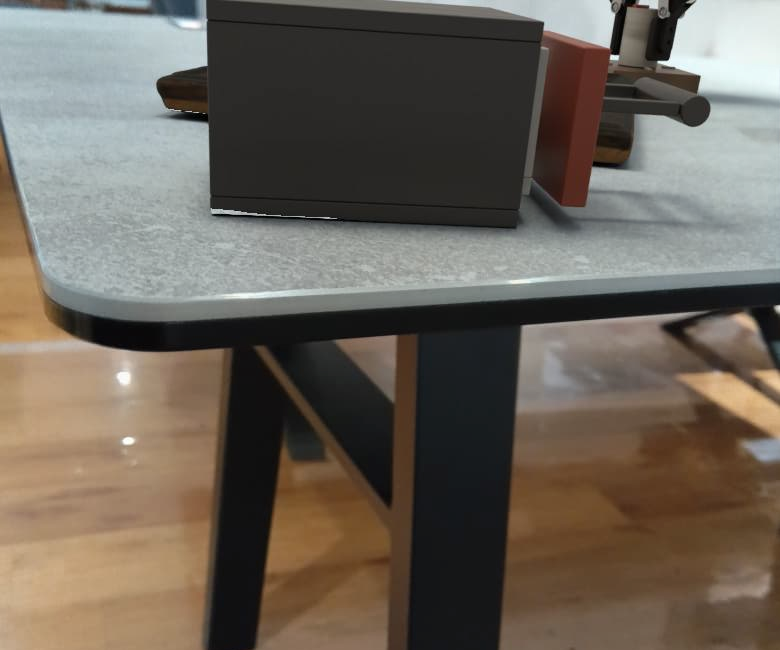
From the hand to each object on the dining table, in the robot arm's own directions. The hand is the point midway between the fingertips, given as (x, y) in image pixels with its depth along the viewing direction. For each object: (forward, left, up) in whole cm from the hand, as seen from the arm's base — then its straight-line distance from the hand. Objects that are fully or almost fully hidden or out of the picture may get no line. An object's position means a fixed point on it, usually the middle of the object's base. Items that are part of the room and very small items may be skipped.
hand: (638, 55), depth 92 cm
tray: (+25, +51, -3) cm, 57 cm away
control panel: (0, 0, -4) cm, 4 cm away
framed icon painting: (+24, +21, -4) cm, 32 cm away
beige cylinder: (0, 0, -1) cm, 1 cm away
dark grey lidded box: (+32, +51, -4) cm, 60 cm away
